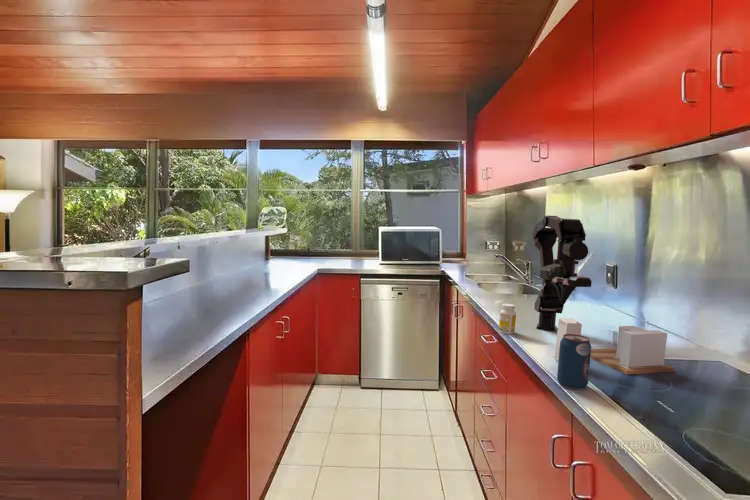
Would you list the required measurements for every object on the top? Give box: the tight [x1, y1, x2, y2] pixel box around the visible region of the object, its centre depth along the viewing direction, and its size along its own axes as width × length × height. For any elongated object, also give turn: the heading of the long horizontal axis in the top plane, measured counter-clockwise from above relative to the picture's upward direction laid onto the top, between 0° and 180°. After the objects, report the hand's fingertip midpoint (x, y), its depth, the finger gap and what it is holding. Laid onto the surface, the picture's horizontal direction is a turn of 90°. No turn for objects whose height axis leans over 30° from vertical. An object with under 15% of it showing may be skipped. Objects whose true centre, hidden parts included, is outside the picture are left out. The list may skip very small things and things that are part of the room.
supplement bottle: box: [498, 303, 517, 335], centre depth 156 cm, size 5×5×10 cm
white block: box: [616, 325, 668, 367], centre depth 126 cm, size 8×12×9 cm, turn 105°
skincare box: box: [554, 317, 583, 362], centre depth 126 cm, size 6×4×12 cm
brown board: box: [590, 347, 675, 375], centre depth 129 cm, size 18×16×1 cm
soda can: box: [556, 334, 592, 390], centre depth 109 cm, size 7×7×12 cm
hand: (562, 303), depth 149 cm, fingers closed
